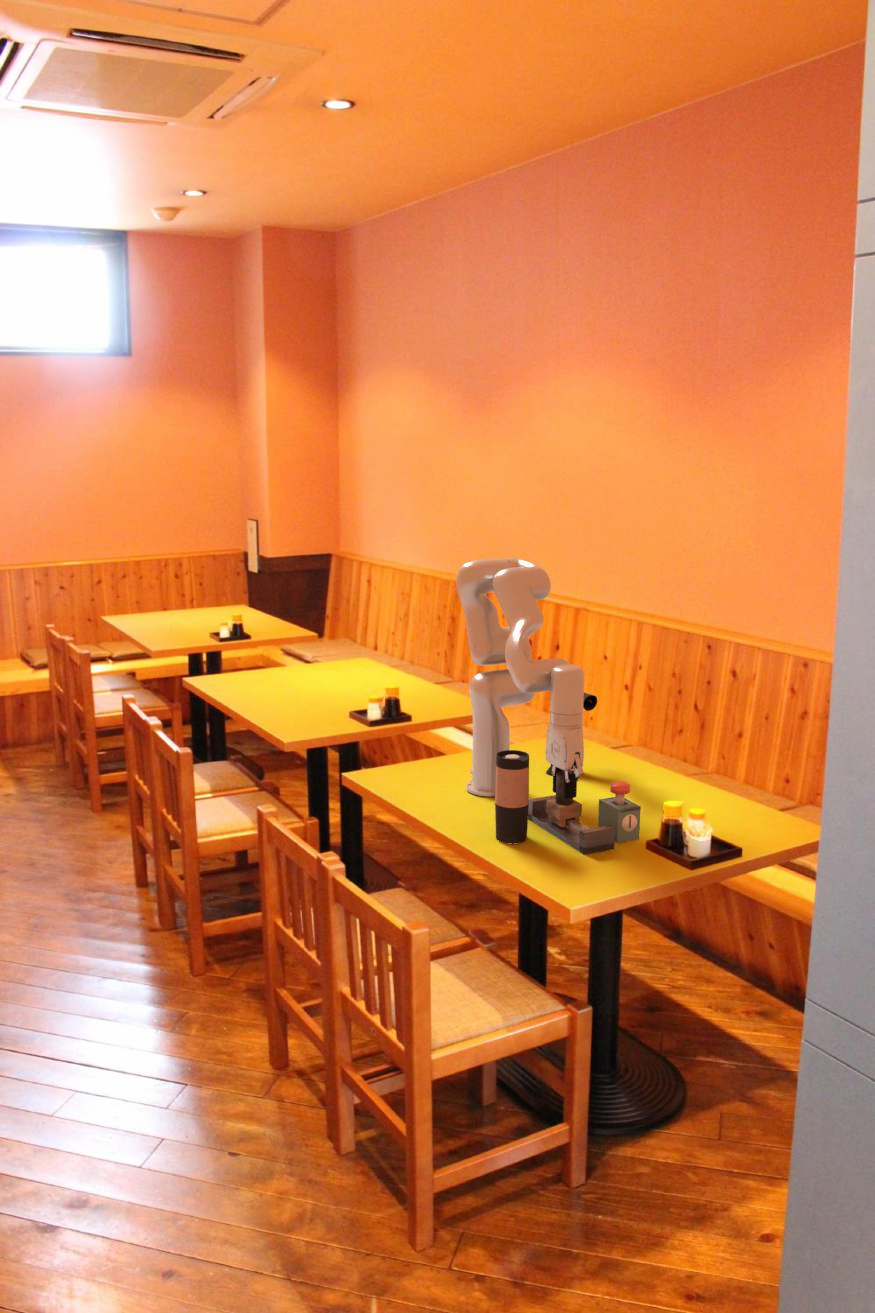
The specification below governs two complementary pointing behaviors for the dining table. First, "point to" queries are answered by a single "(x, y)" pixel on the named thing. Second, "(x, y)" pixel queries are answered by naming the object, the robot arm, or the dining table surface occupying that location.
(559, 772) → the carriage
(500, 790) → the travel mug
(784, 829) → the dining table surface
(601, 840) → the rail
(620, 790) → the button
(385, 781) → the dining table surface
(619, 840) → the gauge box
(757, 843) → the dining table surface
